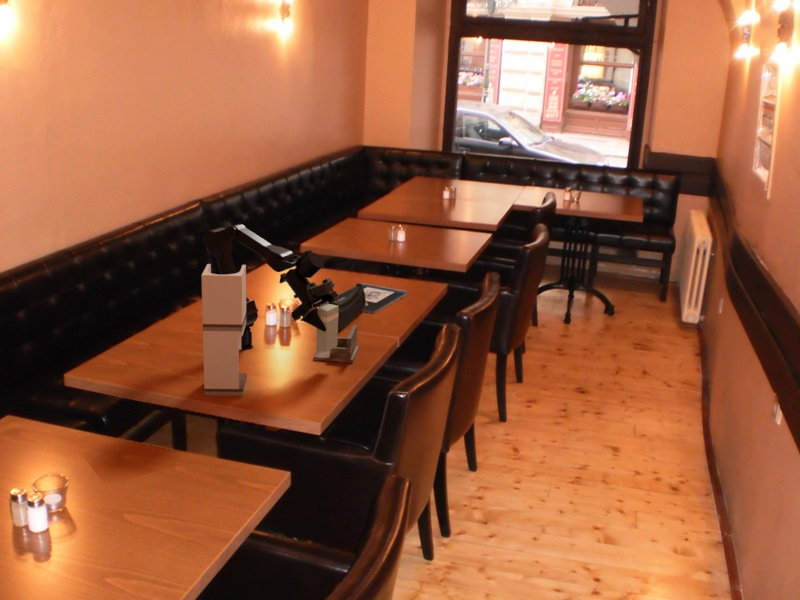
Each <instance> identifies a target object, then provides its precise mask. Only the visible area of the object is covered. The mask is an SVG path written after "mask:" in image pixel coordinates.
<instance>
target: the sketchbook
mask: <svg viewBox="0 0 800 600" xmlns="http://www.w3.org/2000/svg"><path fill="white" fill-rule="evenodd" d="M361 284H362V288H363V289H364V293H365V299H366V303H365V305H364V307H363V308H362V310H361V311H360V312H364V313H369V314H373V313H374V314H376V313H378V312H379V311H382V310H383V309H384V307H385V308H387V307H388V306H390V305H392V304H393V302H394V303H396V302H397V301H399V300H401V299H403V298H404V297H406V296H408V295H409V294H408V293H409V292H408V291H407V290H403V289H399V288H398V289H397V288H392V287H387V286H381V285H376V284H370V283H365V282H361ZM355 287H356V285H355V286H353V287H351V288H349V289H346V291H343V292H341V293H339V294H338V297H337V298H336V301H335V302H334V303H338V302H340V301H342V300H343V299H345V298H346V297H347V296H348V295H349V294H350V293H351V292H352V291H353V289H354V288H355ZM407 294H408V295H407ZM402 297H403V298H402ZM400 298H401V299H400ZM395 301H396V302H395ZM386 306H387V307H386ZM377 311H378V312H377ZM375 312H376V313H375Z"/></svg>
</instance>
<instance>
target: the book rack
mask: <svg viewBox="0 0 800 600" xmlns="http://www.w3.org/2000/svg"><path fill="white" fill-rule="evenodd" d="M357 340H358V325H355V324H353V326H352V328H351V330H350V331H349V334H348V336H347V337H343V336H338V342H337V346H336V347H335V348H333V349H331V350H329V351H327V352H323V351H319V350H316V352H315V354H314V356H313V359H314V360H313V361H320V360H324V361H323V362H333V361H338V362H337V363H345V364H346V362H347V364H354V361H355V359H356V357H357V354H358V351H359V349H360V345H358V344H357V343H358V342H357ZM355 356H356V357H355ZM315 359H316V360H315Z"/></svg>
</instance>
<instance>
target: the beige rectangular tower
mask: <svg viewBox="0 0 800 600" xmlns="http://www.w3.org/2000/svg"><path fill="white" fill-rule="evenodd" d="M211 265H212V264H211V263H207V264H206V266H205V268H204V269H203V272H202V274H201V300H202V301H201V308H202V337H203V338H202V344H203V345H202V346H203V347H202V348H203V381H204V382H203V384H204V385H203V387H204V391H203V392H204V396H219V397H220V396H222V397H223V396H225V397H227V396H231V397H233V396H234V395H235V396H236V397H243V396H244V394H243V393H245V390H244V389H246V385H247V381H248V376H247V375H248V374H247V373H240V363H239V362H240V360H239V359H240V355H239V353H240V352H241V351H242V350H241V336H243V332H244V329H245V326H246V297H247V265H246V264H242V265H241V268H240V270H239V271H237V272H238V273H235V274H228V275H222V274H216V273H212V267H211ZM235 396H234V397H235Z"/></svg>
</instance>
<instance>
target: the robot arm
mask: <svg viewBox="0 0 800 600" xmlns="http://www.w3.org/2000/svg"><path fill="white" fill-rule="evenodd" d="M233 240H236V241H237V242H239V243H241V244H242V245H244V246H245V247H247V248H249V249H250V250H251V251H252V252H254V253H255V254H258V255H259V256H260V257H262V258H263V260H264V261H265V263H266V264H267V265H268V267H269V268H271V269H272V271H274V272H276V273H280V275H279V277H280V278H279V284H282V283H285V282H286V283H287V285H288V286H289V287H290V289H291V290H292V292H293V293H294V295H293V298H294V299H298V300H299V301H300V304H299V305H298V306H297V307H295V309H293V310H292V311H291V312H290V313H291V316H290V317H291V319H292V320H293V321H294V322H297V321H299V320H300V322H304V323H306V324H309V326H310V325H311V326H312V327H314V328H316V329H317V328H318V329H320V330H321V331H323V332H325V331H326V330H327V329H326V327H325V325H324V324H323V322H322V321H321V319H320V317H319V316H318V314H317V309H318V307H319V308H321V307H323V306H325V305H327V304H332V305H334V302H335V301H336V298H337V297H338V295H339V294H338V293H337V291H335V290H334V286H335V283H334V281H332V279H331V278H330V277H328V278H325V279H323V280H322V283H321V284H320V283H319V284H316V282H314V281H313V282H311V281H310V280H309V279H311V278H312V277H314V276H315V275H316V274H317V273H318V272H319V271H321V269H323V267H324V266H325V262H324V259H323V258H322V257H321V256H320V255H319V254H317V253H315V252H313V251H312V250H311V249H307V250H306V251H304V252H303V254H302V255H301V256H300V255H296V254H295V253H294V252H293V251H292V250H290V249H287V248H284V247H282V246H277V245H274V244H272V243H270V242H268V241H267V240H266V239H264V238H262V237H261V236H259V235H257V234H256V233H255V232H253V231H251V230H250V229H249V228H247V227H246V226H245V225H244V224H242V223H237V224H234V225H230V227H227V228H226V227H218V228H215V229H211V230H208V231H205V233H204V235H203V242H204V245H205V247H206V249H207V251H208V253H210V254H211V255H212V256H213V257H214V258H215V260H216V262H217V265H218V268H219V271H220V275H228V274H235V273H238V272H239V271H238V270H237V267H236V264H235V262H234V261H235V260H234V258H233V256H232V249H233ZM294 267H295V268H294ZM284 271H286V272H284ZM281 272H284V273H281ZM258 312H259V309H258V308H257V306H256V302H255V300H254V299H251V300H250V298H248V297H247V296H246V326H245V329H244V332H243V336H241V351H242V350H247V349H248V350H249V349H252V348H254V346H253V345H252V343H253V332H252V331H251V327H254V325H255V322H256V321H257V319H258V317H259V313H258Z"/></svg>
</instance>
